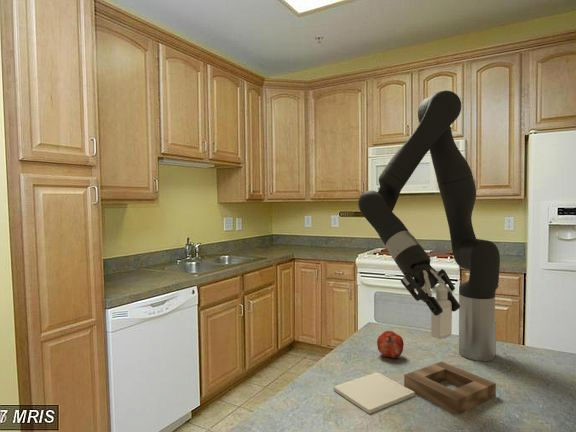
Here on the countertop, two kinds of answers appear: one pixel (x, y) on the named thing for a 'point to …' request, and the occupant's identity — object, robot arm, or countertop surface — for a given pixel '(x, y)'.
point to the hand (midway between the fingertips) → (448, 311)
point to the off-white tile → (373, 392)
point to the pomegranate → (390, 344)
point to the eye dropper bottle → (442, 315)
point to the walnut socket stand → (457, 400)
